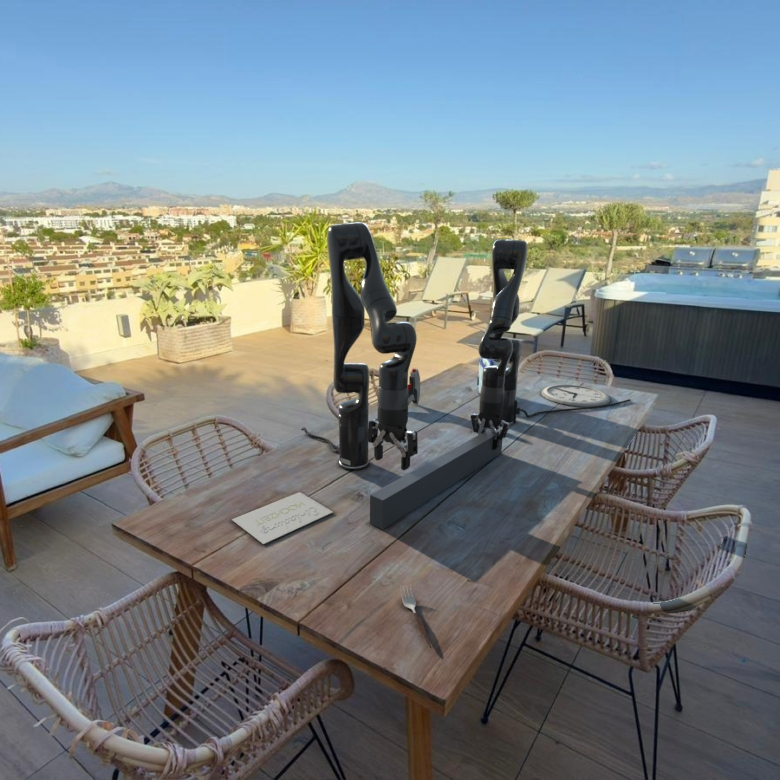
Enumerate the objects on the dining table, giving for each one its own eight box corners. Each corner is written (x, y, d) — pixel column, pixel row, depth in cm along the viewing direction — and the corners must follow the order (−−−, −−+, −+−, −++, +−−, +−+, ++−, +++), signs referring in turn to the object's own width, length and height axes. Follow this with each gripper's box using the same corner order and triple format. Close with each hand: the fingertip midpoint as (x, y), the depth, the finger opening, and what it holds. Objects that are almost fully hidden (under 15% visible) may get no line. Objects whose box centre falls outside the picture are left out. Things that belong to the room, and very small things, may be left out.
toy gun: (394, 376, 210) (415, 366, 221) (395, 413, 216) (416, 402, 227) (399, 377, 209) (420, 367, 220) (400, 414, 215) (420, 403, 226)
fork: (423, 651, 94) (424, 642, 93) (398, 593, 109) (398, 585, 108) (437, 648, 95) (437, 639, 94) (410, 591, 109) (411, 583, 109)
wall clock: (623, 402, 226) (556, 403, 224) (623, 406, 227) (556, 407, 224) (592, 383, 255) (532, 383, 252) (591, 386, 255) (532, 386, 253)
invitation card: (299, 491, 149) (333, 511, 139) (299, 492, 149) (333, 512, 139) (231, 519, 134) (263, 543, 124) (231, 520, 134) (263, 544, 124)
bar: (490, 449, 180) (491, 427, 178) (501, 453, 178) (503, 430, 175) (369, 523, 134) (369, 494, 132) (382, 529, 132) (383, 500, 129)
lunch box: (475, 390, 246) (478, 346, 240) (498, 390, 246) (501, 347, 240) (484, 408, 221) (487, 360, 215) (509, 409, 221) (513, 360, 215)
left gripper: (361, 401, 129) (361, 460, 134) (406, 414, 121) (404, 477, 126) (380, 394, 135) (380, 452, 140) (425, 406, 126) (423, 467, 131)
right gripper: (466, 396, 170) (463, 444, 175) (506, 406, 161) (501, 456, 167) (478, 391, 176) (475, 438, 181) (517, 400, 167) (512, 449, 172)
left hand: (391, 464), depth 133 cm, fingers open, 8 cm apart
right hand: (488, 447), depth 174 cm, fingers closed on bar, 4 cm apart
